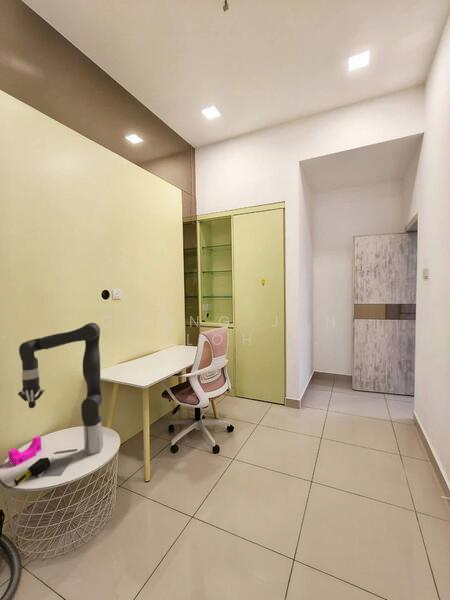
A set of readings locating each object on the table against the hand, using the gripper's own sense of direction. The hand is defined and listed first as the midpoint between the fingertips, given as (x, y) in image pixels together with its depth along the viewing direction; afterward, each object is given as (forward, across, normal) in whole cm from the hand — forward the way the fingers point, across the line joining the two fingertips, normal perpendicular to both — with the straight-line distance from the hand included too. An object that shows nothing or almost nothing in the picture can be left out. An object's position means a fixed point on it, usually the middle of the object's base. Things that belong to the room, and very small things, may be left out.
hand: (32, 407), depth 147 cm
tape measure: (+27, -5, +15) cm, 31 cm away
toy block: (+29, +5, -2) cm, 30 cm away
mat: (+29, -16, +10) cm, 34 cm away
